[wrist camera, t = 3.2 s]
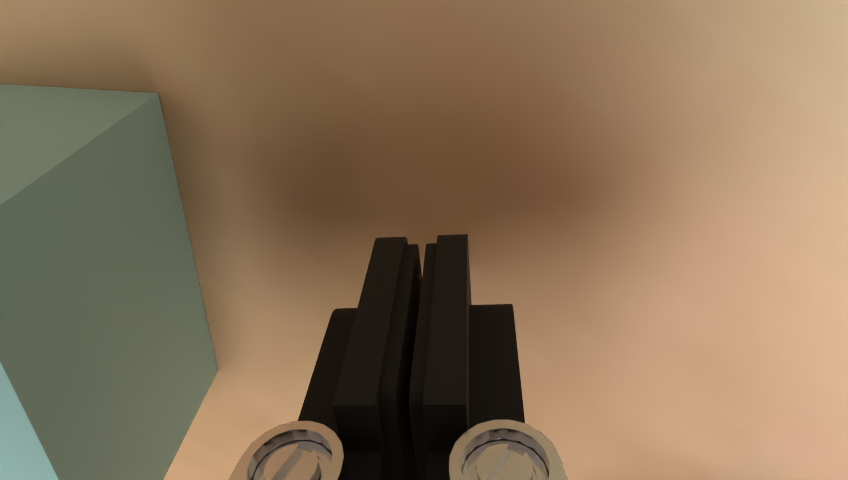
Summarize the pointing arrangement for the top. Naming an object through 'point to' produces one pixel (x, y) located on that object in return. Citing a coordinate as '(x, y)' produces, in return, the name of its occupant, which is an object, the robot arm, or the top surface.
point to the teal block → (94, 289)
